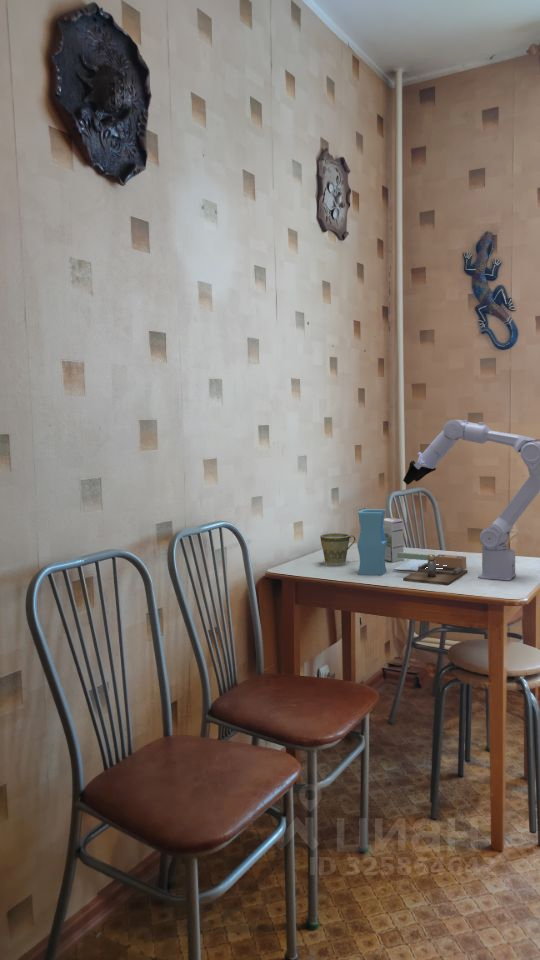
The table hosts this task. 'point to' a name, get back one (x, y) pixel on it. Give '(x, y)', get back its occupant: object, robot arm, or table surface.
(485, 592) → the table surface
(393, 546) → the syrup box
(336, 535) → the ceramic cup
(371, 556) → the vase
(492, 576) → the robot arm
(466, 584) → the table surface
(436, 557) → the brown rectangular block
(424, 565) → the keeper board
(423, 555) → the keeper bar
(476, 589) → the table surface
